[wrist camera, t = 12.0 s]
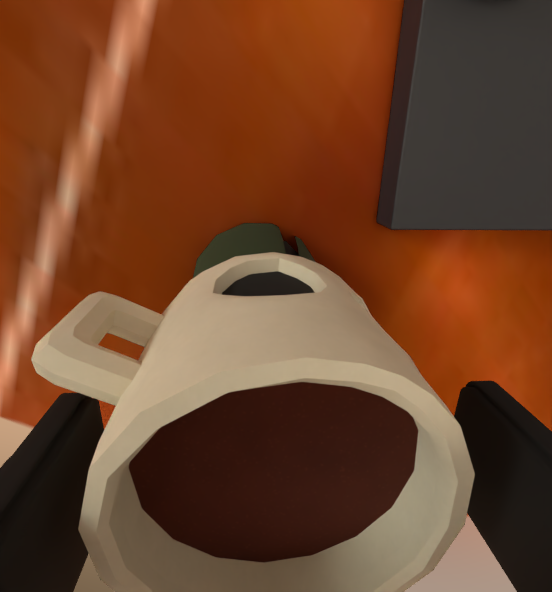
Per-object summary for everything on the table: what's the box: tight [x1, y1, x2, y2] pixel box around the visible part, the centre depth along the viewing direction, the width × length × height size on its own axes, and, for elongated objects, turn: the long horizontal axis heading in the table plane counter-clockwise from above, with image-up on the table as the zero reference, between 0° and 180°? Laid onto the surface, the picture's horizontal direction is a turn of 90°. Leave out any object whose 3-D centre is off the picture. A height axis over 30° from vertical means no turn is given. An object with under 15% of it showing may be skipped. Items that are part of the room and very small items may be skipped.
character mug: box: [31, 223, 475, 592], centre depth 12 cm, size 11×7×13 cm, turn 61°
